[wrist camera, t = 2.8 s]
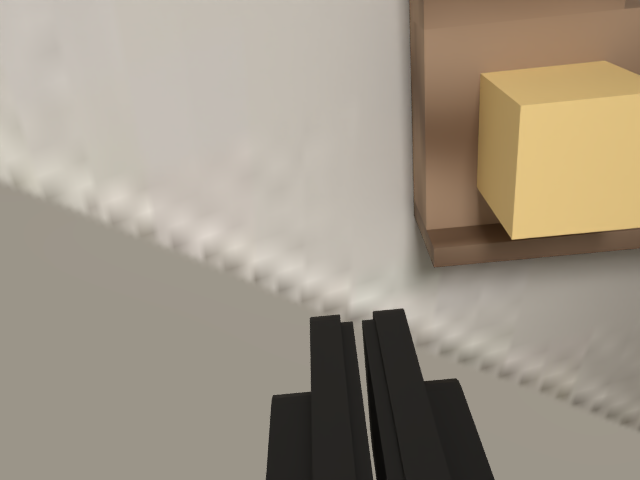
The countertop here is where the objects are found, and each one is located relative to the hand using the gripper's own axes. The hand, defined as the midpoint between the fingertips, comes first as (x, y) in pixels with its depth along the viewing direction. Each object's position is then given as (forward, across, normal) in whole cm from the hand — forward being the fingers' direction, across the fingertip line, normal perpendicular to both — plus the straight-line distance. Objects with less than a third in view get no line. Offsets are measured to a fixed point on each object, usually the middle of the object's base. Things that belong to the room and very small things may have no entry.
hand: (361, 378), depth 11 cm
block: (+12, -7, -1) cm, 14 cm away
